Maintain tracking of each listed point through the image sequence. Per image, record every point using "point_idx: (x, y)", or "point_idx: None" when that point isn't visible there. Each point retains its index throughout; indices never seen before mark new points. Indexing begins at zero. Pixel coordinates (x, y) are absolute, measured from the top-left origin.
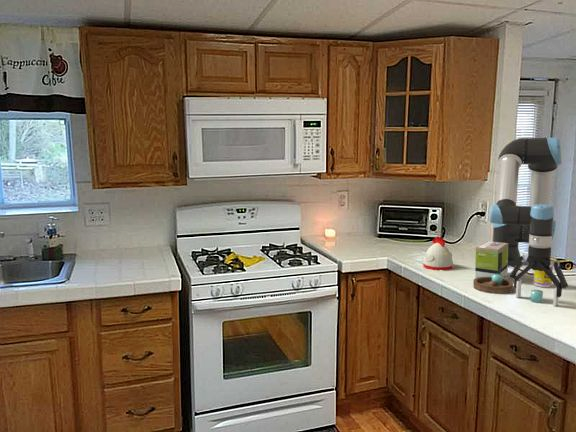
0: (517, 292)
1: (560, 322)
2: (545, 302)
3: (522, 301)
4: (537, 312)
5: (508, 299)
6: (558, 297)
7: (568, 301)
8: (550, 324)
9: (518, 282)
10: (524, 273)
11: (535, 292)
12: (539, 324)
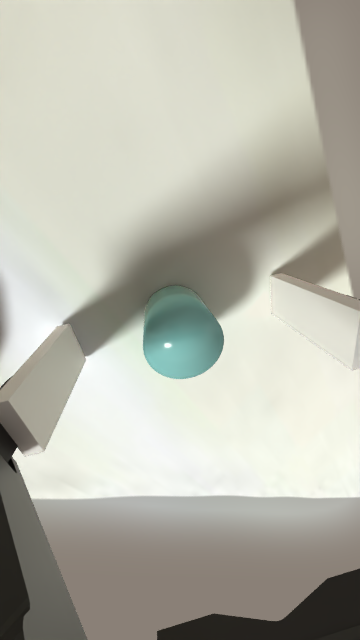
0: (73, 380)
1: (346, 429)
2: (215, 291)
3: (137, 374)
4: (256, 422)
5: (80, 405)
6: (309, 283)
7: (301, 138)
8: (327, 460)
9: (46, 442)
10: (50, 554)
11: (194, 374)
12: (303, 480)
